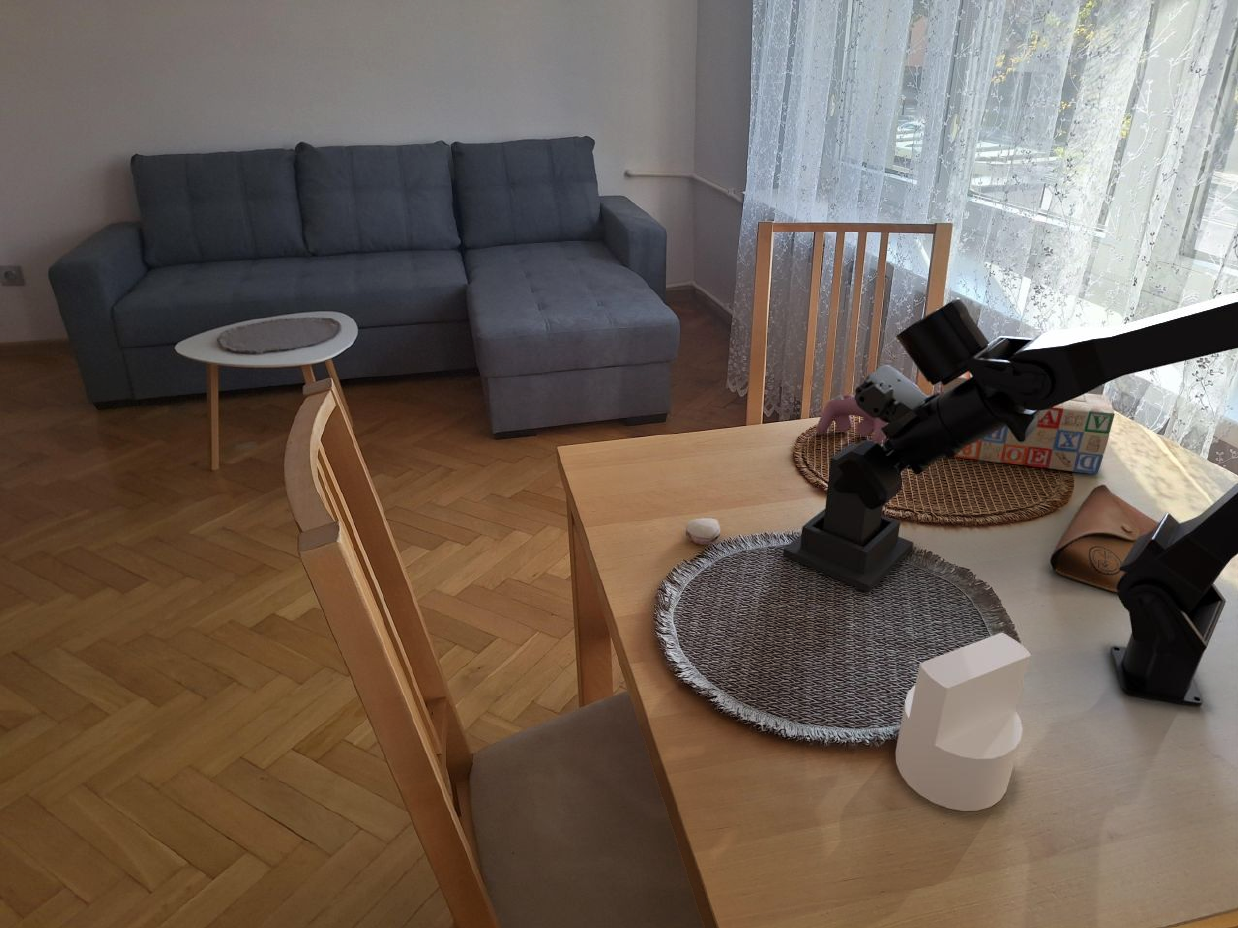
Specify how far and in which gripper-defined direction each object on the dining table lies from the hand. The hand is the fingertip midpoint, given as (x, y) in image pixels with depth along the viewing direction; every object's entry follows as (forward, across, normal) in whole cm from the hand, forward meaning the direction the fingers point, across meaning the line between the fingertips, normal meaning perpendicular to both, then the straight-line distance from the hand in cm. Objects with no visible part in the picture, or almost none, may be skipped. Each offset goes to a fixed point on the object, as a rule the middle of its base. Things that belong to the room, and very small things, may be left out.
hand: (846, 479), depth 94 cm
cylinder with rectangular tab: (-10, +23, +24) cm, 34 cm away
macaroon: (+16, +8, -3) cm, 19 cm away
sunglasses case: (-10, -20, +24) cm, 33 cm away
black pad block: (+4, 0, +6) cm, 7 cm away
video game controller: (+16, -27, -2) cm, 32 cm away
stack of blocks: (+2, -36, +12) cm, 38 cm away
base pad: (+6, 0, +8) cm, 10 cm away
